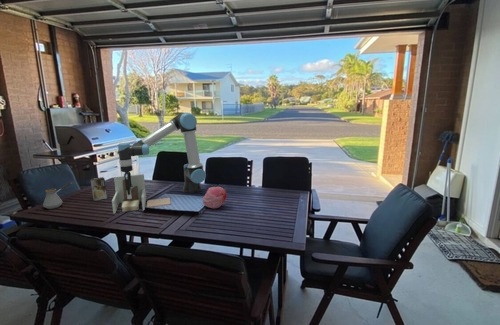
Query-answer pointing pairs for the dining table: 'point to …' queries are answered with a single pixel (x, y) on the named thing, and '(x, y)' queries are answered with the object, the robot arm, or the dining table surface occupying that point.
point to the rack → (135, 181)
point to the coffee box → (98, 188)
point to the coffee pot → (53, 198)
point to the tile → (158, 202)
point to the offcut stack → (130, 205)
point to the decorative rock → (214, 197)
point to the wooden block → (133, 192)
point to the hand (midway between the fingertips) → (130, 197)
